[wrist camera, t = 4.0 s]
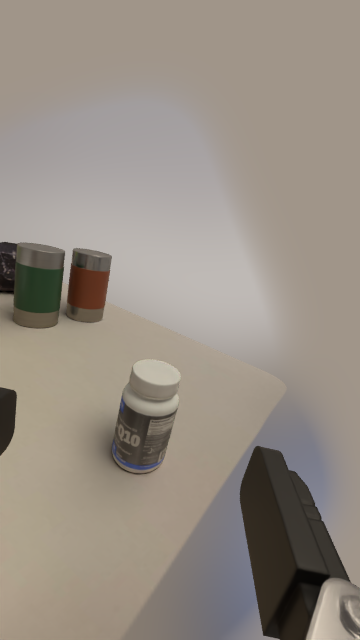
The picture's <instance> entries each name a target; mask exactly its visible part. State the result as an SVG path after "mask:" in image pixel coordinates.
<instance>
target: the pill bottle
mask: <svg viewBox="0 0 360 640" xmlns="http://www.w3.org/2000/svg"><path fill="white" fill-rule="evenodd" d="M180 379H181V375H180V373H179V371H178V370H177V369H176V368H175V367H173V366H172V365H170V364H168V363H166V362H163V361H159V360H152V359H145V360H140V361H138V362H136V363H135V364H134V365H133V367H132V371H131V375H130V381H129V383H128V384H127V385H126V386H125V388H124V390H123V393H122V398H121V403H120V409H119V414H118V419H117V424H116V429H115V434H114V439H113V444H112V454H113V457H114V459H115V461H116V462H117V464H118V465H119V466H120V467H121V468H123V469H125V470H127V471H129V472H133V473H147V472H150V471H153V470H155V469H156V468H158V467H159V466H160V465H161V463H162V462H163V459H164V456H165V453H166V449H167V445H168V441H169V438H170V434H171V430H172V426H173V423H174V419H175V415H176V412H177V408H178V405H179V398H178V395H177V391H178V388H179V383H180Z"/></svg>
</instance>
